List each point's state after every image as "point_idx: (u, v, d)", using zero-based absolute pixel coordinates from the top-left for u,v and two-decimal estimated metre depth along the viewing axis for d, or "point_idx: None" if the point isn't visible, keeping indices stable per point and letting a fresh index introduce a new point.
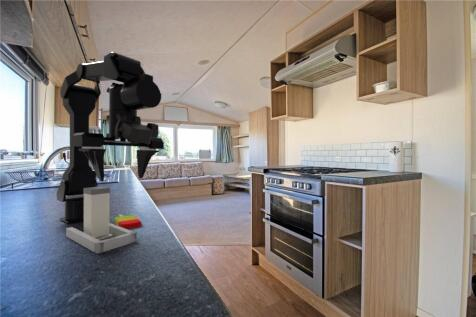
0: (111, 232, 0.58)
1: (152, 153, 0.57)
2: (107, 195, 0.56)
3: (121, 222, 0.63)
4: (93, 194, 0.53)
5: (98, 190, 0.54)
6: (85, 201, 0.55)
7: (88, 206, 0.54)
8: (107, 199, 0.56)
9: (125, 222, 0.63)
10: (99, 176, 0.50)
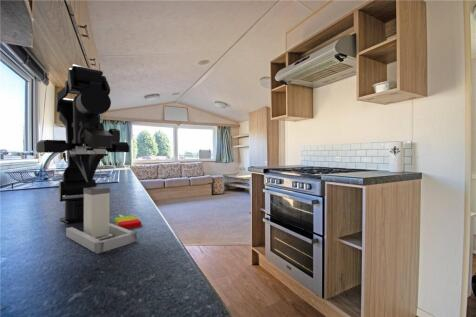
0: (111, 232, 0.58)
1: (100, 157, 0.58)
2: (107, 195, 0.56)
3: (121, 222, 0.63)
4: (93, 194, 0.53)
5: (98, 190, 0.54)
6: (85, 201, 0.55)
7: (88, 206, 0.54)
8: (107, 199, 0.56)
9: (125, 222, 0.63)
10: (86, 177, 0.57)
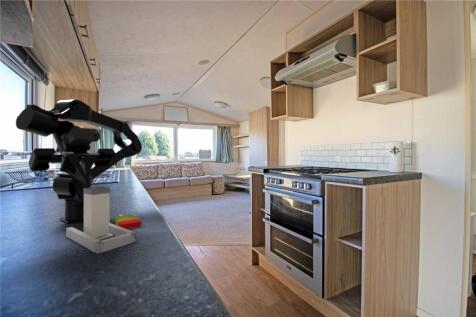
0: (111, 232, 0.58)
1: (89, 158, 0.62)
2: (107, 195, 0.56)
3: (121, 222, 0.63)
4: (93, 194, 0.53)
5: (98, 190, 0.54)
6: (85, 201, 0.55)
7: (88, 206, 0.54)
8: (107, 199, 0.56)
9: (125, 222, 0.63)
10: (83, 179, 0.59)
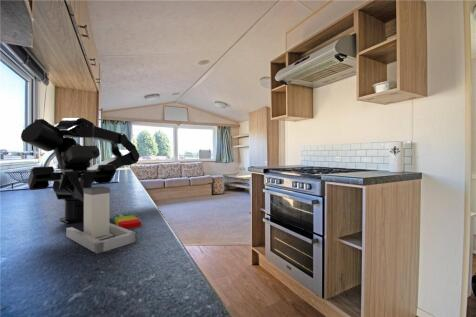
0: (111, 232, 0.58)
1: (88, 175, 0.62)
2: (107, 195, 0.56)
3: (121, 222, 0.63)
4: (93, 194, 0.53)
5: (98, 190, 0.54)
6: (85, 201, 0.55)
7: (88, 206, 0.54)
8: (107, 199, 0.56)
9: (125, 222, 0.63)
10: (81, 197, 0.59)
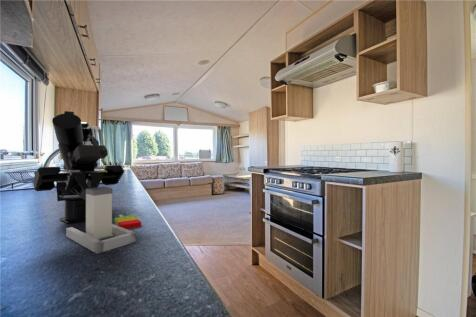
0: None
1: (96, 176, 0.59)
2: (109, 196, 0.55)
3: (121, 222, 0.63)
4: (95, 195, 0.53)
5: (100, 191, 0.53)
6: (87, 202, 0.54)
7: (90, 206, 0.53)
8: (109, 200, 0.55)
9: (125, 222, 0.63)
10: None
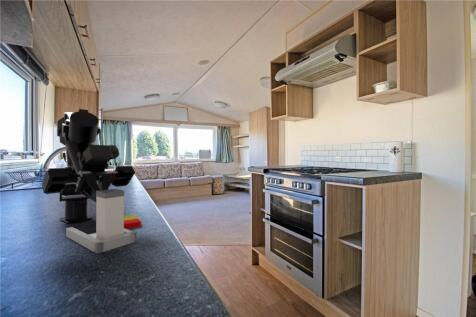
0: None
1: (107, 178, 0.56)
2: (121, 198, 0.52)
3: None
4: (107, 197, 0.49)
5: (112, 193, 0.50)
6: (98, 205, 0.51)
7: (101, 210, 0.50)
8: (121, 203, 0.52)
9: (125, 222, 0.63)
10: None
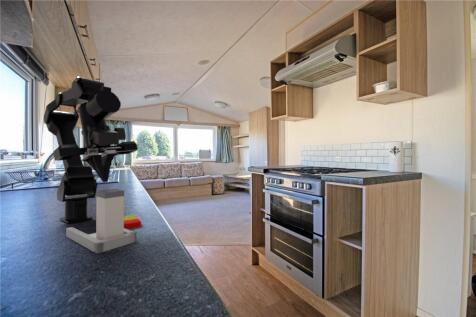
0: None
1: (111, 156, 0.62)
2: (121, 198, 0.52)
3: None
4: (107, 197, 0.49)
5: (112, 193, 0.50)
6: (98, 205, 0.51)
7: (101, 210, 0.50)
8: (121, 203, 0.52)
9: (125, 222, 0.63)
10: (102, 178, 0.61)
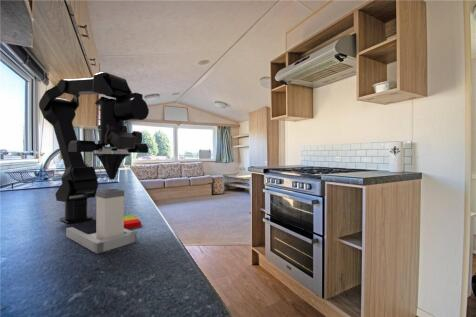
0: None
1: (123, 156, 0.63)
2: (121, 198, 0.52)
3: None
4: (107, 197, 0.49)
5: (112, 193, 0.50)
6: (98, 205, 0.51)
7: (101, 210, 0.50)
8: (121, 203, 0.52)
9: (124, 222, 0.63)
10: (109, 175, 0.63)
